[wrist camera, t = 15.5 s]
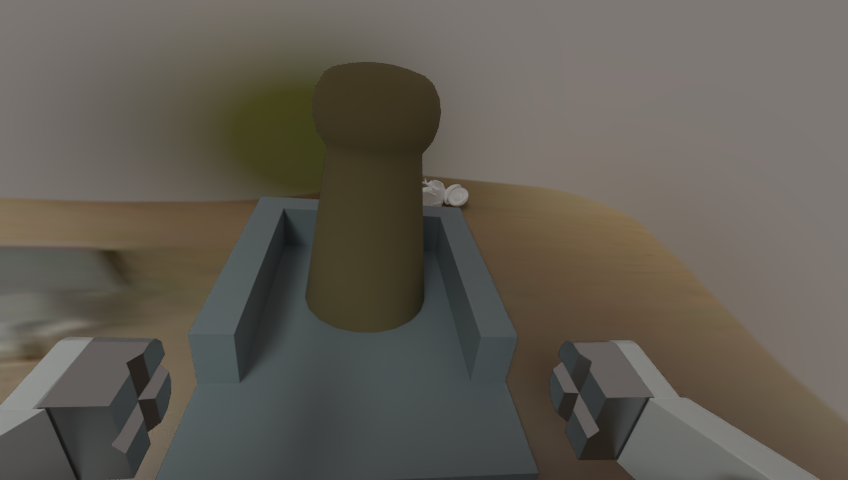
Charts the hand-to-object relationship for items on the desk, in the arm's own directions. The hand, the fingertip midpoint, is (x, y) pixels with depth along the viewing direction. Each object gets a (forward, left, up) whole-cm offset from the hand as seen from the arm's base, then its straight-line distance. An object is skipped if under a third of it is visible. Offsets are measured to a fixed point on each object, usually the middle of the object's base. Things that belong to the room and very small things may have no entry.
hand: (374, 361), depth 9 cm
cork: (0, +12, -7) cm, 13 cm away
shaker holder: (0, +10, -7) cm, 12 cm away
